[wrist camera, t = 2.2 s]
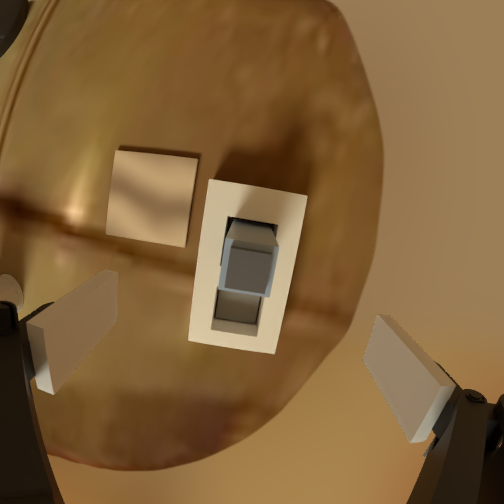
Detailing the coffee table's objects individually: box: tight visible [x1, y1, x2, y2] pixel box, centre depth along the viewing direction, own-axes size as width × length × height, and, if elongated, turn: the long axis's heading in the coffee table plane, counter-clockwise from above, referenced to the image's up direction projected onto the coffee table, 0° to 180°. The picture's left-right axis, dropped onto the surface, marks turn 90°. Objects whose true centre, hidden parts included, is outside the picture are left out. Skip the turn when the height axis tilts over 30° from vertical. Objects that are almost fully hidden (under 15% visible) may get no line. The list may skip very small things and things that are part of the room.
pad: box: [106, 150, 199, 247], centre depth 34 cm, size 10×10×1 cm
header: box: [188, 179, 308, 354], centre depth 35 cm, size 18×10×4 cm, turn 170°
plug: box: [218, 219, 279, 298], centre depth 29 cm, size 4×4×13 cm
